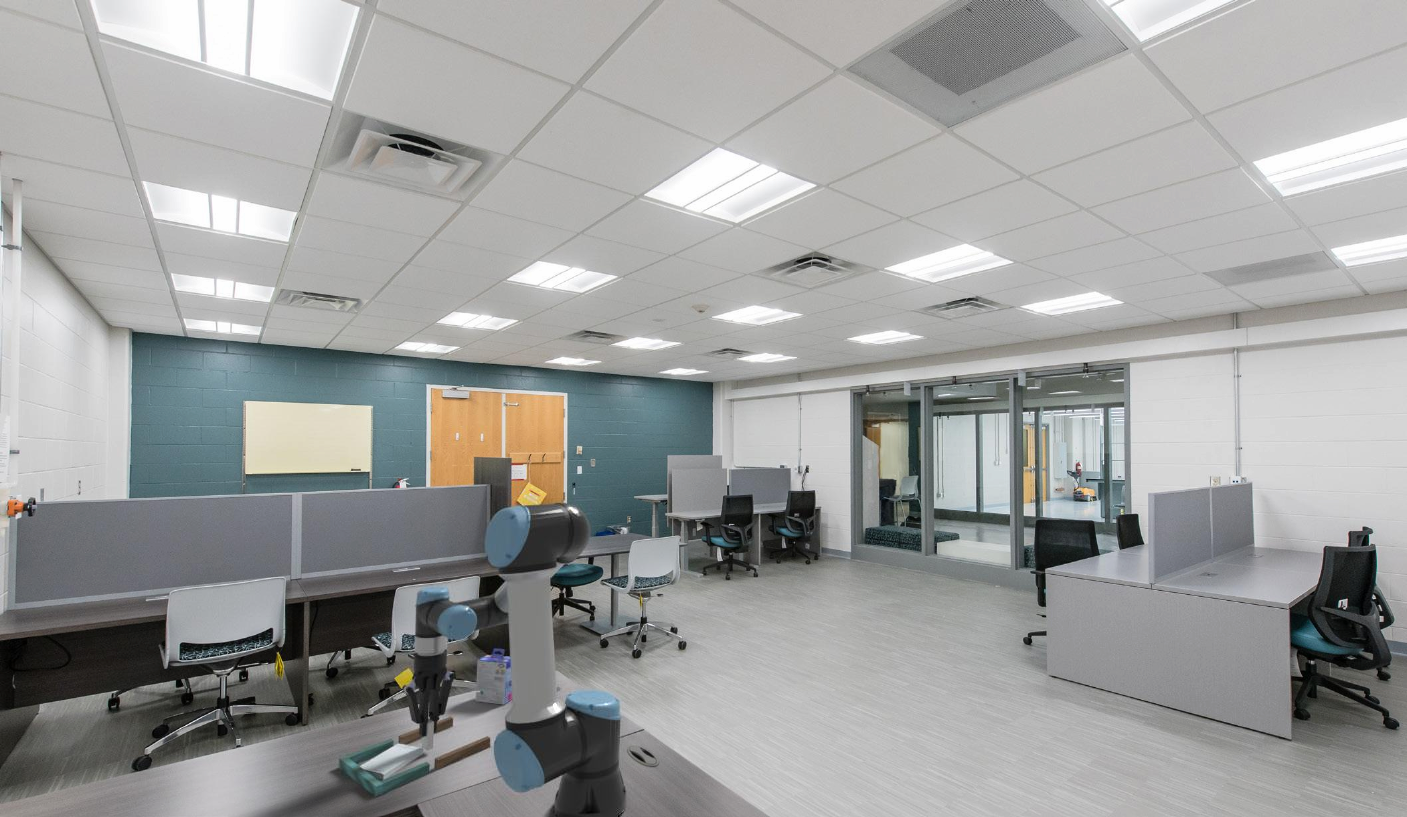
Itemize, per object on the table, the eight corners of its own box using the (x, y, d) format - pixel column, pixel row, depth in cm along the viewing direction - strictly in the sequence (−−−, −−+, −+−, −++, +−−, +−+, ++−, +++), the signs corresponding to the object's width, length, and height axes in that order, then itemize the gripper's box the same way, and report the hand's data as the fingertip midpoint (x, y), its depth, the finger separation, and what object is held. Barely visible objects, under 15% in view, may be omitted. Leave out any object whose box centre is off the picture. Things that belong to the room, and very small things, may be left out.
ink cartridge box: (514, 697, 184) (516, 648, 184) (505, 705, 178) (507, 655, 179) (485, 694, 186) (486, 646, 186) (474, 702, 180) (476, 652, 181)
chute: (490, 746, 154) (490, 737, 154) (375, 797, 132) (376, 786, 132) (450, 724, 166) (450, 716, 166) (338, 767, 144) (339, 758, 144)
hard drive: (383, 774, 139) (423, 747, 151) (355, 767, 141) (397, 742, 153) (383, 781, 139) (423, 754, 151) (355, 775, 141) (397, 749, 153)
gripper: (447, 641, 160) (444, 733, 158) (397, 654, 149) (393, 753, 148) (463, 647, 155) (459, 742, 154) (412, 661, 145) (408, 763, 144)
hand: (427, 747), depth 151 cm, fingers closed
